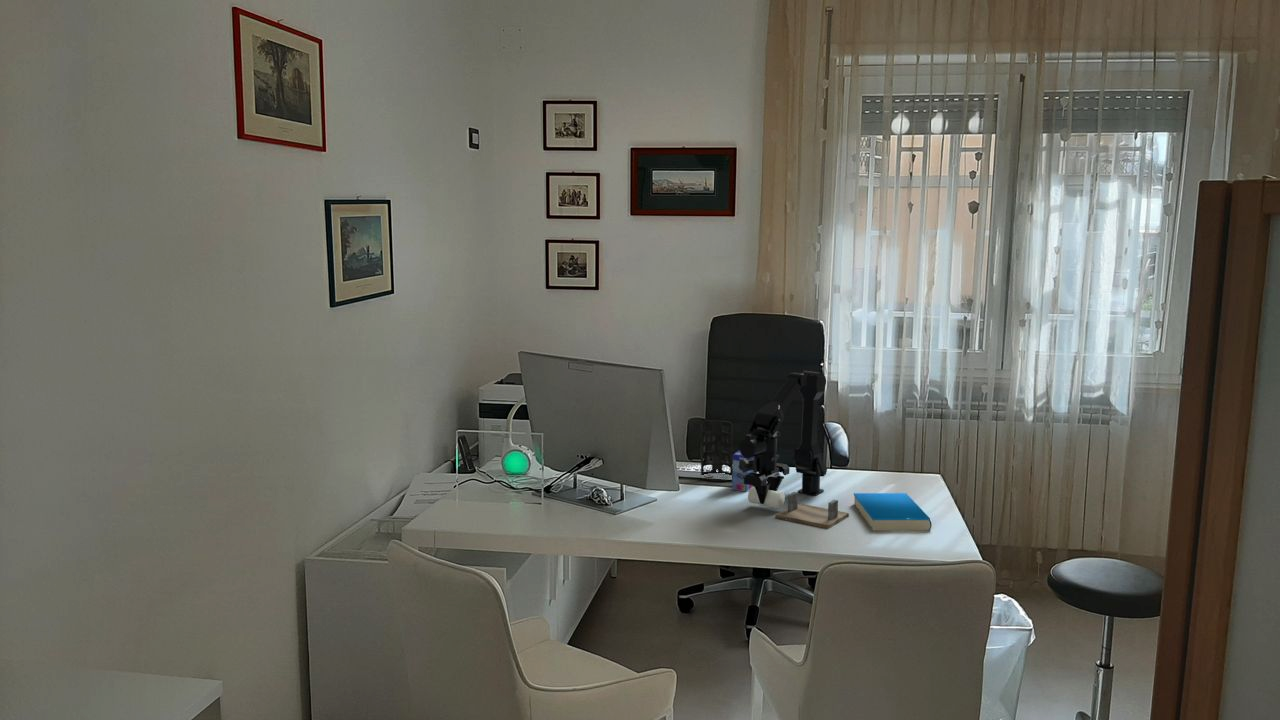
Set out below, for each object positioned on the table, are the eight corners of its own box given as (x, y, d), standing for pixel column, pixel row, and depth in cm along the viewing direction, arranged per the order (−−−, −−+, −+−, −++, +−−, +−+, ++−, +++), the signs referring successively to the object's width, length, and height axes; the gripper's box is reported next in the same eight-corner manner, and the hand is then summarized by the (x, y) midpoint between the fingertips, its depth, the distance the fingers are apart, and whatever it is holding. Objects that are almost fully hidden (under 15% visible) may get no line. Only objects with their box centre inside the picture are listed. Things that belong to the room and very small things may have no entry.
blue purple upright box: (747, 492, 307) (747, 449, 304) (731, 490, 309) (731, 447, 307) (758, 484, 315) (758, 442, 313) (742, 482, 318) (743, 440, 316)
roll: (756, 500, 294) (756, 485, 294) (784, 506, 288) (784, 490, 288) (747, 504, 290) (748, 488, 290) (776, 510, 284) (777, 494, 284)
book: (872, 518, 269) (852, 492, 293) (872, 533, 270) (852, 505, 294) (932, 518, 269) (907, 491, 294) (932, 532, 270) (907, 505, 294)
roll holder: (797, 506, 292) (797, 487, 291) (848, 516, 282) (849, 496, 281) (775, 517, 281) (776, 498, 280) (828, 528, 271) (828, 508, 270)
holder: (701, 482, 318) (701, 424, 315) (699, 476, 326) (699, 419, 323) (733, 482, 319) (734, 424, 316) (731, 475, 326) (731, 419, 323)
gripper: (759, 442, 299) (758, 489, 301) (728, 454, 284) (727, 504, 287) (790, 447, 292) (789, 495, 295) (760, 459, 278) (760, 510, 280)
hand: (766, 501), depth 289 cm, fingers closed on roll, 5 cm apart
